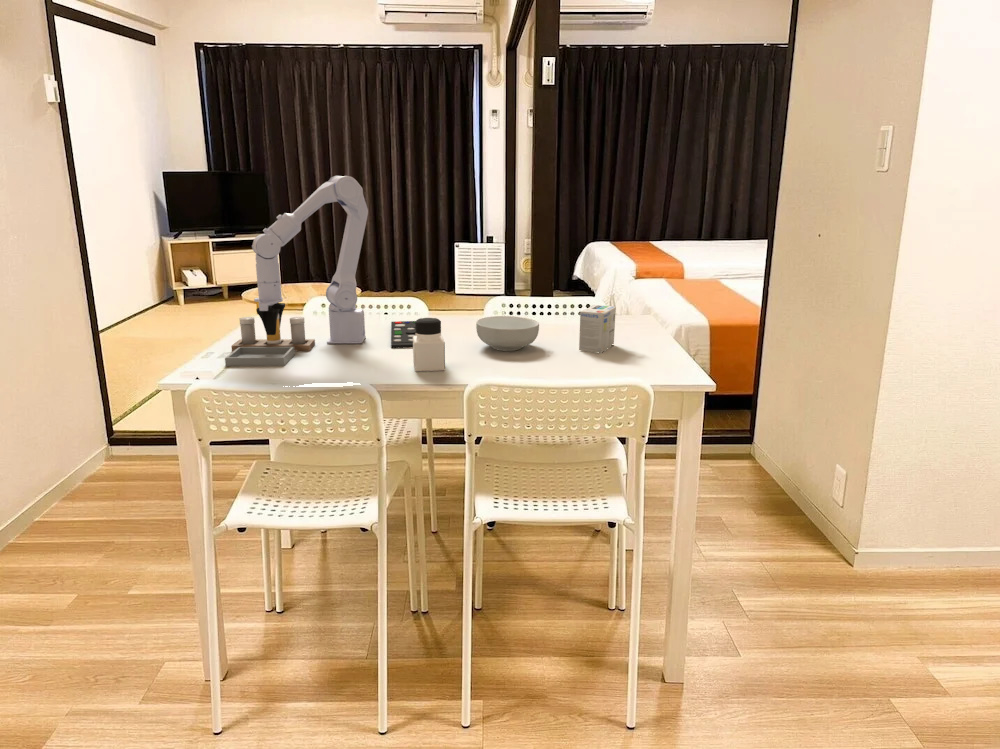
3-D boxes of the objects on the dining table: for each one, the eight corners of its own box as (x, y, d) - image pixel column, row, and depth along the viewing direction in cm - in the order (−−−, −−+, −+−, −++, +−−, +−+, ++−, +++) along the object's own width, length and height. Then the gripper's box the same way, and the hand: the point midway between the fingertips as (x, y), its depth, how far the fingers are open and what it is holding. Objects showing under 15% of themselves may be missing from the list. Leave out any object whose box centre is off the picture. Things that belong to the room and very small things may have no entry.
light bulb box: (591, 342, 200) (593, 304, 197) (614, 345, 198) (616, 306, 195) (578, 351, 191) (579, 310, 188) (602, 353, 188) (604, 313, 185)
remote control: (428, 325, 223) (427, 318, 222) (433, 349, 194) (433, 341, 193) (391, 326, 221) (391, 319, 221) (391, 350, 193) (390, 343, 192)
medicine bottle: (445, 370, 171) (444, 321, 168) (414, 372, 170) (413, 322, 167) (442, 363, 178) (441, 315, 175) (413, 364, 177) (412, 316, 174)
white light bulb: (258, 346, 193) (256, 316, 191) (254, 349, 190) (252, 319, 187) (244, 346, 193) (241, 316, 191) (240, 349, 190) (237, 319, 187)
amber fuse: (282, 342, 193) (280, 312, 191) (279, 345, 190) (277, 315, 187) (268, 342, 193) (266, 312, 191) (265, 345, 189) (262, 315, 187)
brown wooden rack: (315, 344, 195) (314, 339, 195) (309, 351, 189) (309, 345, 188) (240, 344, 195) (239, 339, 194) (231, 351, 188) (231, 345, 187)
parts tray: (294, 354, 185) (294, 346, 185) (284, 365, 175) (283, 357, 174) (239, 354, 185) (238, 346, 184) (225, 365, 174) (224, 357, 174)
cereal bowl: (509, 358, 183) (509, 331, 181) (463, 347, 194) (463, 321, 192) (551, 347, 195) (552, 321, 193) (505, 337, 206) (505, 312, 204)
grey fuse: (307, 346, 194) (305, 316, 192) (304, 349, 190) (302, 319, 188) (293, 346, 194) (291, 316, 191) (290, 349, 190) (288, 319, 188)
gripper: (261, 277, 194) (265, 327, 197) (244, 286, 180) (249, 339, 183) (287, 277, 194) (291, 326, 198) (273, 286, 180) (278, 339, 184)
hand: (273, 332), depth 191 cm, fingers closed on amber fuse, 3 cm apart
